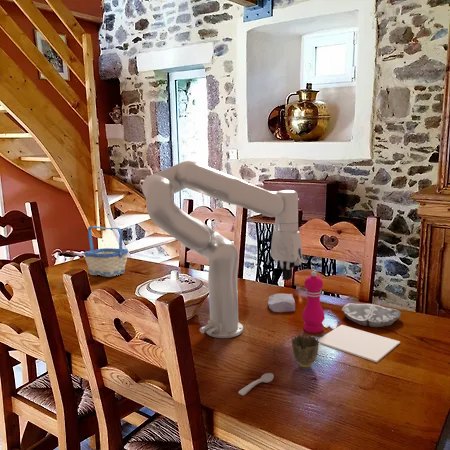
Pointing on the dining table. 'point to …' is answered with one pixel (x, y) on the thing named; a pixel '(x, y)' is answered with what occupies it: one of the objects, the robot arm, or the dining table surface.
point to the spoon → (264, 378)
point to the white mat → (358, 343)
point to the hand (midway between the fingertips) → (287, 279)
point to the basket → (106, 257)
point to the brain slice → (371, 314)
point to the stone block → (281, 302)
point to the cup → (305, 350)
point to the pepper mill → (313, 304)
